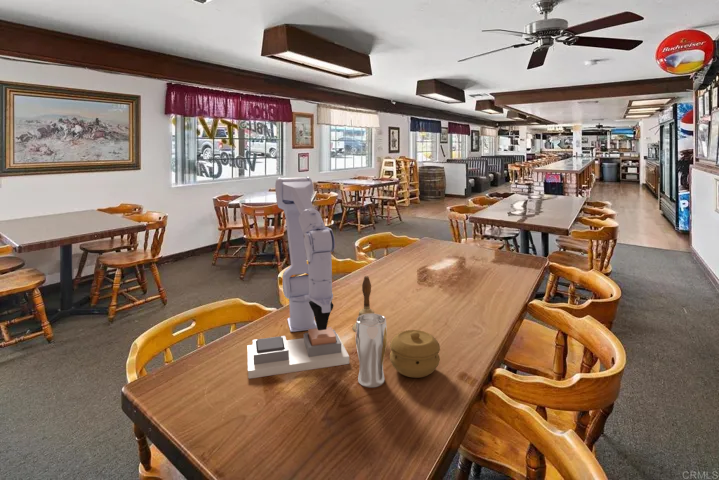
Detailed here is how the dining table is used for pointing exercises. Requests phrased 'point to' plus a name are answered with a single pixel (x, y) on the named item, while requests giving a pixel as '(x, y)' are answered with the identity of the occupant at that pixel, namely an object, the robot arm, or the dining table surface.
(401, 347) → the pot
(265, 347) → the charcoal key
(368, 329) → the beer glass
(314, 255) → the robot arm
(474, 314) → the dining table surface
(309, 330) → the terracotta key
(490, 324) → the dining table surface
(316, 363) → the button panel
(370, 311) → the hand bell
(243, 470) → the dining table surface
